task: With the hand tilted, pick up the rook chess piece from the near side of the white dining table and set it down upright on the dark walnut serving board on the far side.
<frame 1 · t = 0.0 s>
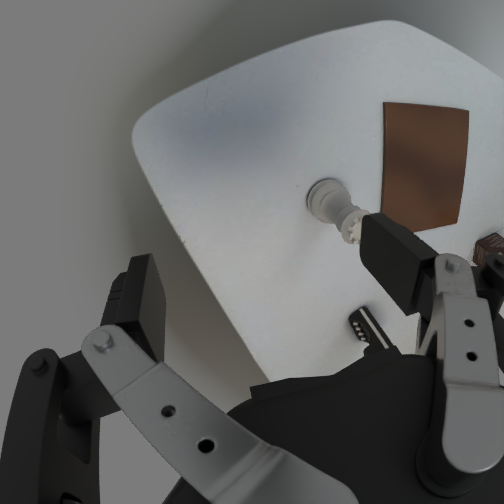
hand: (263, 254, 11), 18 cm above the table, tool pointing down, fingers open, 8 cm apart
serving board: (427, 170, 31), on the table
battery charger: (359, 323, 42), on the table
box: (483, 245, 41), on the table
rook chess piece: (325, 197, 31), on the table
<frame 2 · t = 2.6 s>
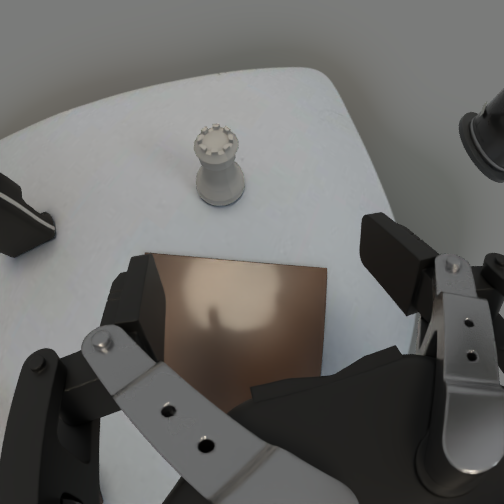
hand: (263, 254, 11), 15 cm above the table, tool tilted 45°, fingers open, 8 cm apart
serving board: (228, 343, 25), on the table
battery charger: (33, 233, 26), on the table
rook chess piece: (220, 186, 28), on the table
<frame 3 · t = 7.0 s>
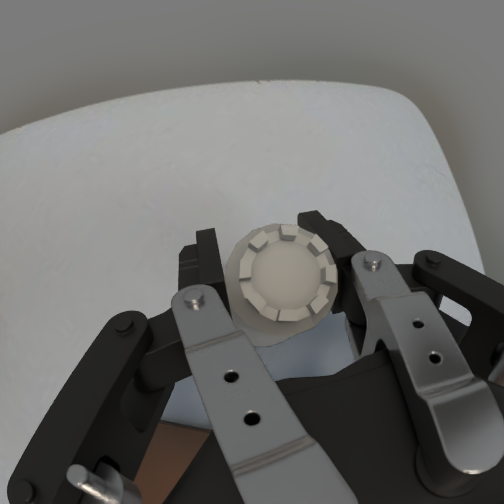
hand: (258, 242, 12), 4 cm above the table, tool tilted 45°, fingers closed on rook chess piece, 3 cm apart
rook chess piece: (260, 303, 16), on the table, touching gripper
when the fingers open (4 cm above the table, at t = 14.5 s): rook chess piece stays where it is, resting on serving board.
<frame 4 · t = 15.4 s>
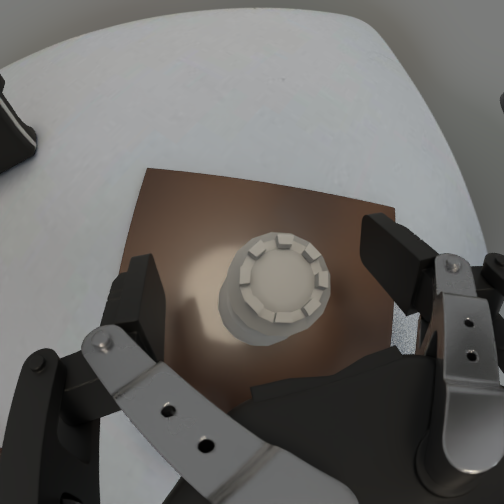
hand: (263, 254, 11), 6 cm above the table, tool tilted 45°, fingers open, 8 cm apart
serving board: (258, 302, 17), on the table
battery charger: (10, 155, 19), on the table
rook chess piece: (260, 304, 16), resting on serving board
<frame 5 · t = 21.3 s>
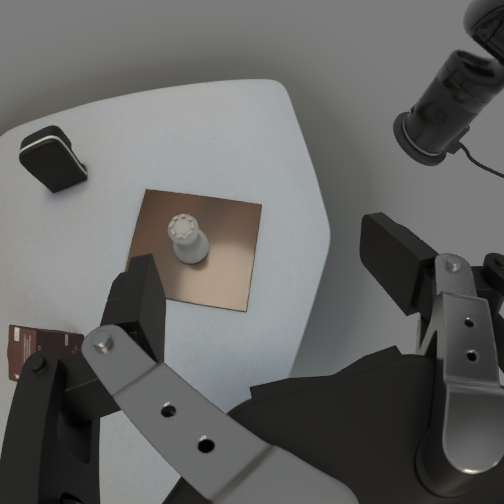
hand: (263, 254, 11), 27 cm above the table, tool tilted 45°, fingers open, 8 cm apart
serving board: (191, 247, 39), on the table
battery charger: (70, 177, 40), on the table
box: (73, 353, 34), on the table
rook chess piece: (191, 247, 38), resting on serving board
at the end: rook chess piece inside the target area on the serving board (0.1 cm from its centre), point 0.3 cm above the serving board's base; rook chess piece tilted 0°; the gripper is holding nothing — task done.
